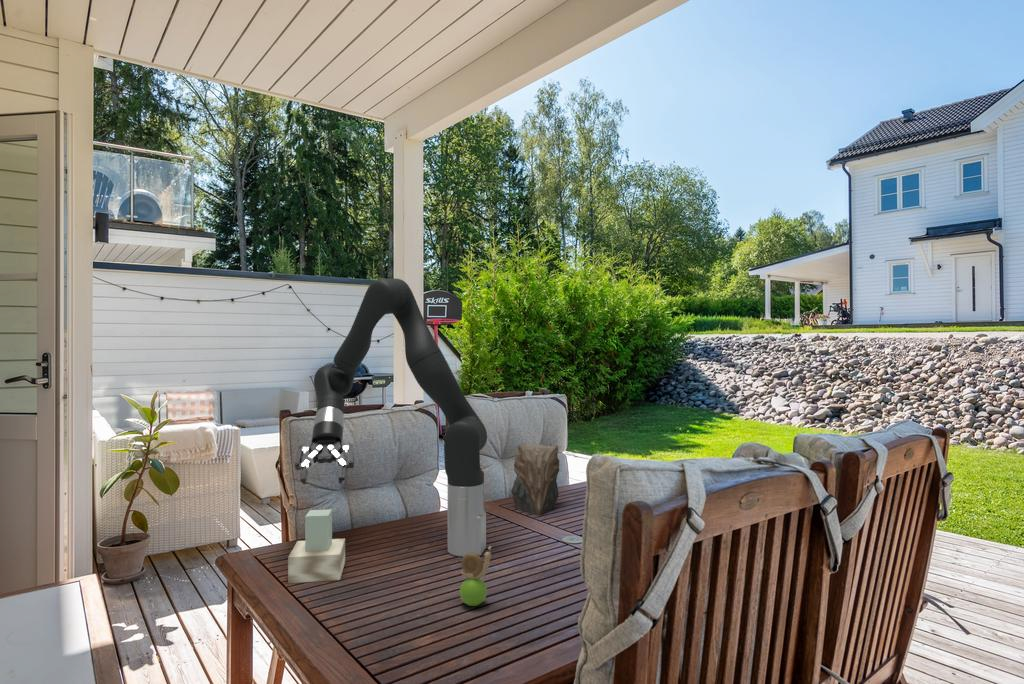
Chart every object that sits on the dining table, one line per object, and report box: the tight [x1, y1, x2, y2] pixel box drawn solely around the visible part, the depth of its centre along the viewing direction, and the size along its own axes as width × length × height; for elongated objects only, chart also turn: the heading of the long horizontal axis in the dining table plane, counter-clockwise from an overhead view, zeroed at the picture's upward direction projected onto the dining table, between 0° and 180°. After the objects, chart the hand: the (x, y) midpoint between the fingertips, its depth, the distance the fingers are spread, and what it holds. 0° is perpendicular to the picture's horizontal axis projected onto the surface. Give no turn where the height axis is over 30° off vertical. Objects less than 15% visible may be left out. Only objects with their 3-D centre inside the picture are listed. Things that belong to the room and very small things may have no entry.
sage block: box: [304, 509, 333, 552], centre depth 138 cm, size 5×5×8 cm
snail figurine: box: [459, 545, 492, 607], centre depth 121 cm, size 5×6×12 cm
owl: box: [510, 443, 560, 517], centre depth 191 cm, size 13×13×20 cm
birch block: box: [287, 537, 346, 584], centre depth 138 cm, size 11×11×6 cm
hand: (322, 482), depth 147 cm, fingers open, 8 cm apart
